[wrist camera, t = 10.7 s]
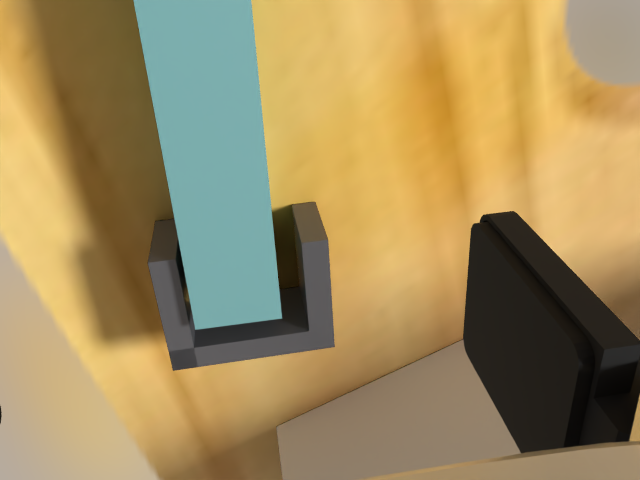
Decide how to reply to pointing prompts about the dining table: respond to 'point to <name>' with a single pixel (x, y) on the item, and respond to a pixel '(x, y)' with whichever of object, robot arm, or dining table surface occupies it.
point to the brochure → (398, 424)
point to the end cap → (256, 337)
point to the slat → (214, 154)
